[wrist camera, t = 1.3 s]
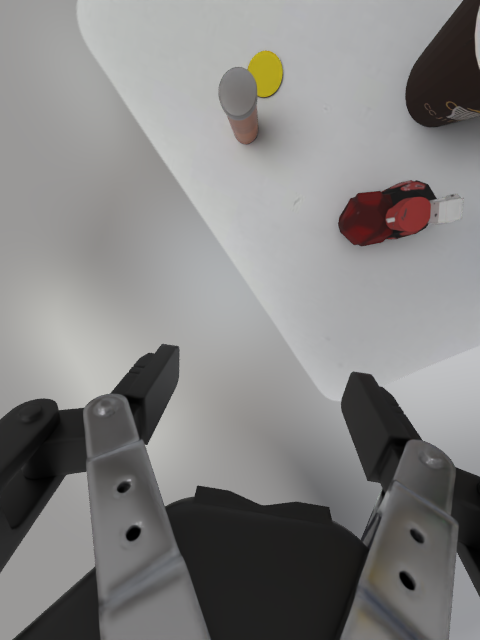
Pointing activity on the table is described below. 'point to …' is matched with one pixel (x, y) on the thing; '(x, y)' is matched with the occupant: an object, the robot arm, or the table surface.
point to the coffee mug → (448, 72)
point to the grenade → (396, 213)
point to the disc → (266, 72)
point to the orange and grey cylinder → (240, 103)
